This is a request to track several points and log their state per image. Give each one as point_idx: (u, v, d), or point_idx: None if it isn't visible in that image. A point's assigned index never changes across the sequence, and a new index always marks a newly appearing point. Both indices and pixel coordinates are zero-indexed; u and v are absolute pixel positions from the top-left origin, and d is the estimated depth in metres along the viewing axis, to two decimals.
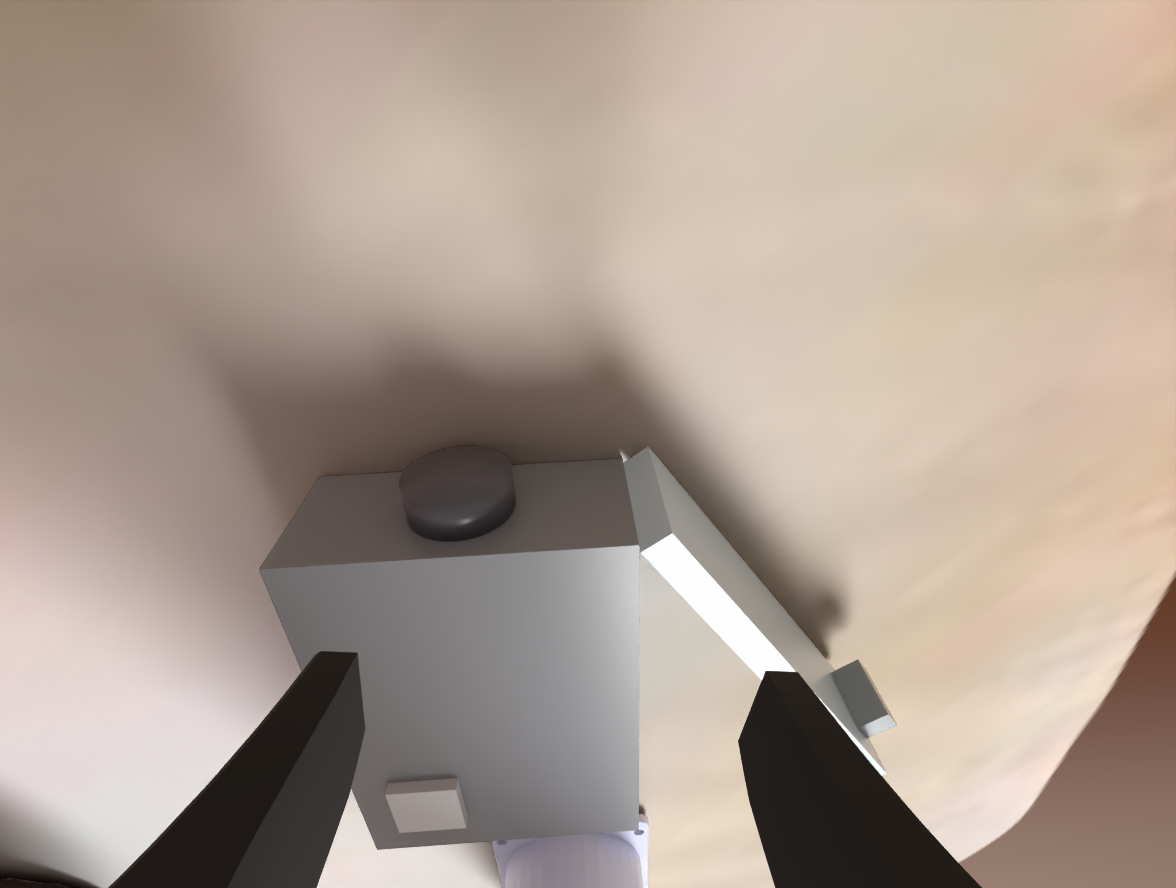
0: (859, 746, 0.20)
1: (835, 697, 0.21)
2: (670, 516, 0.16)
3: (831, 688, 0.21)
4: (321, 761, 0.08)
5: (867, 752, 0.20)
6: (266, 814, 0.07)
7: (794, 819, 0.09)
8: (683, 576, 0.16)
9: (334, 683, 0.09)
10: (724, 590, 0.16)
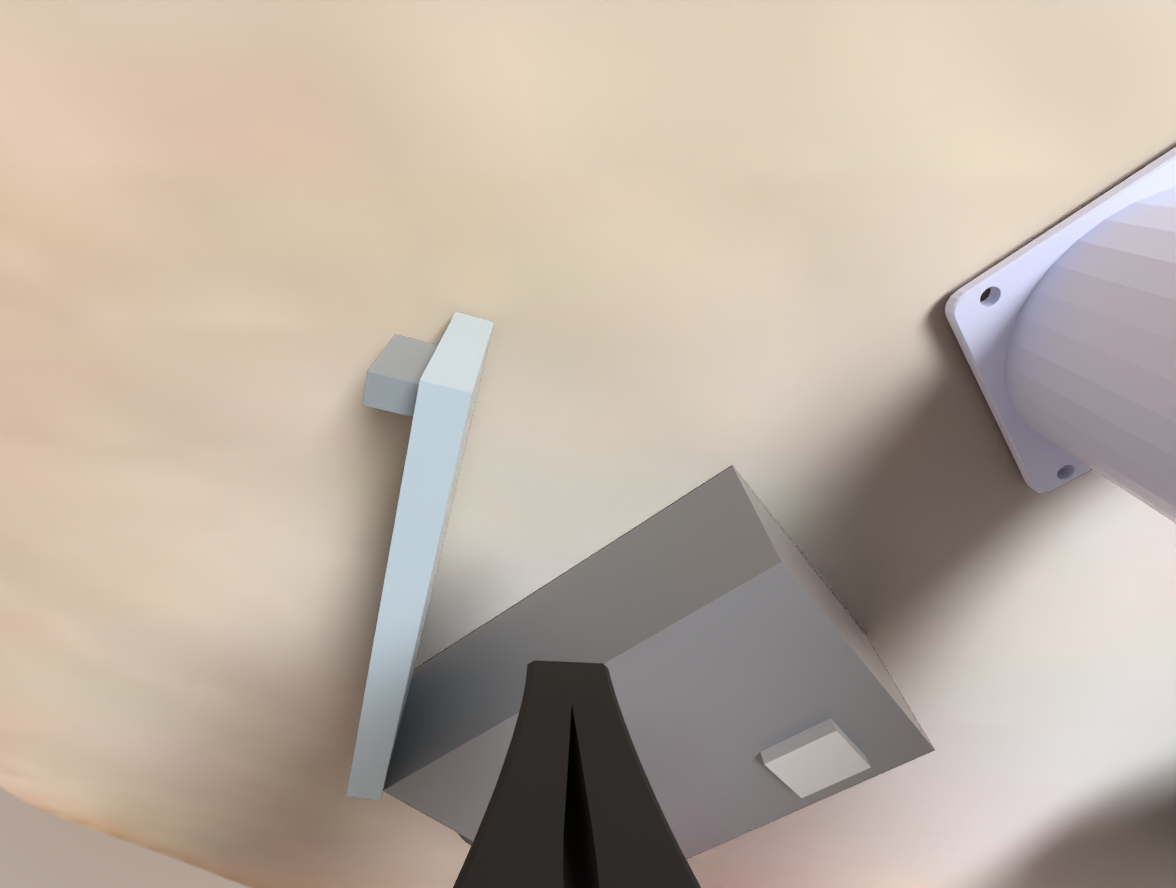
0: (407, 475, 0.12)
1: None
2: None
3: None
4: None
5: (408, 452, 0.12)
6: (560, 819, 0.07)
7: (570, 815, 0.09)
8: (371, 771, 0.17)
9: (563, 692, 0.09)
10: None
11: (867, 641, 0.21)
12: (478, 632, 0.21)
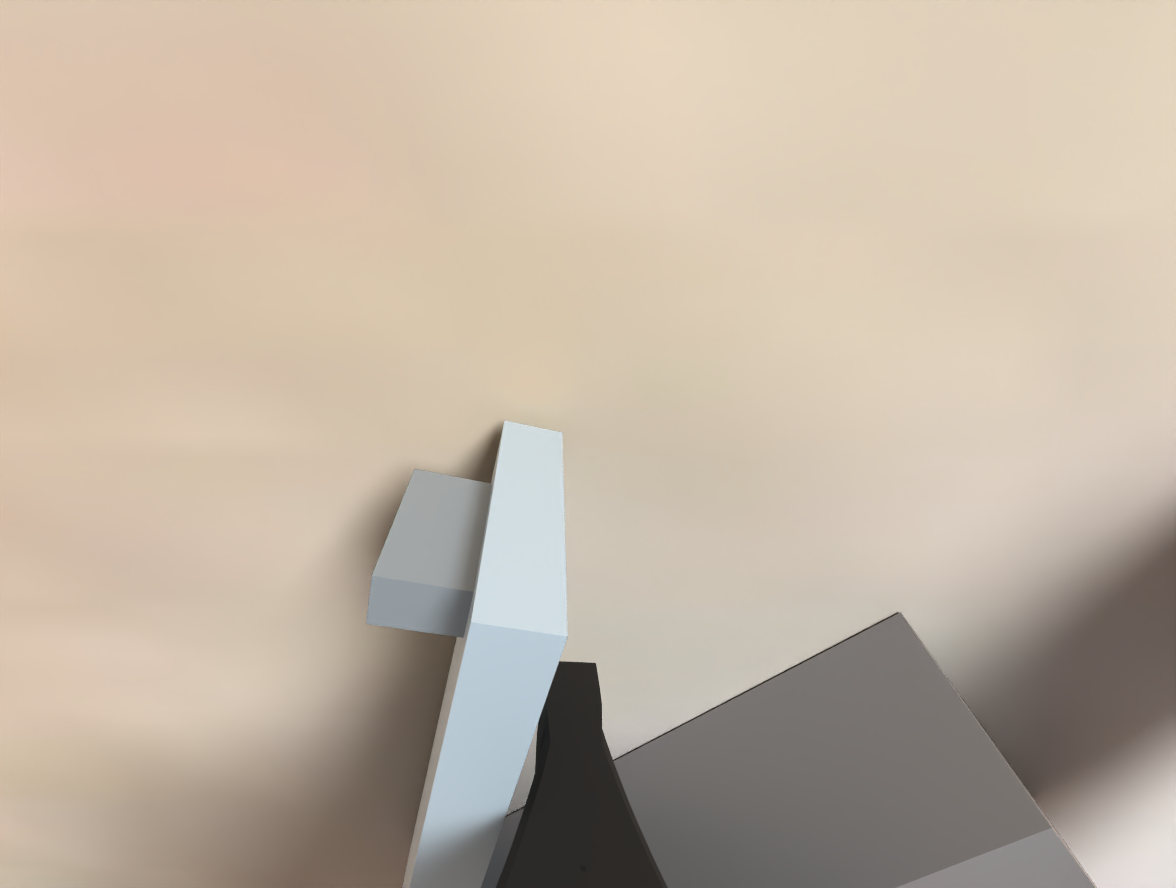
0: (447, 755, 0.07)
1: (453, 676, 0.08)
2: None
3: (458, 649, 0.09)
4: None
5: (449, 723, 0.07)
6: (597, 819, 0.07)
7: None
8: None
9: (593, 693, 0.09)
10: None
11: None
12: None
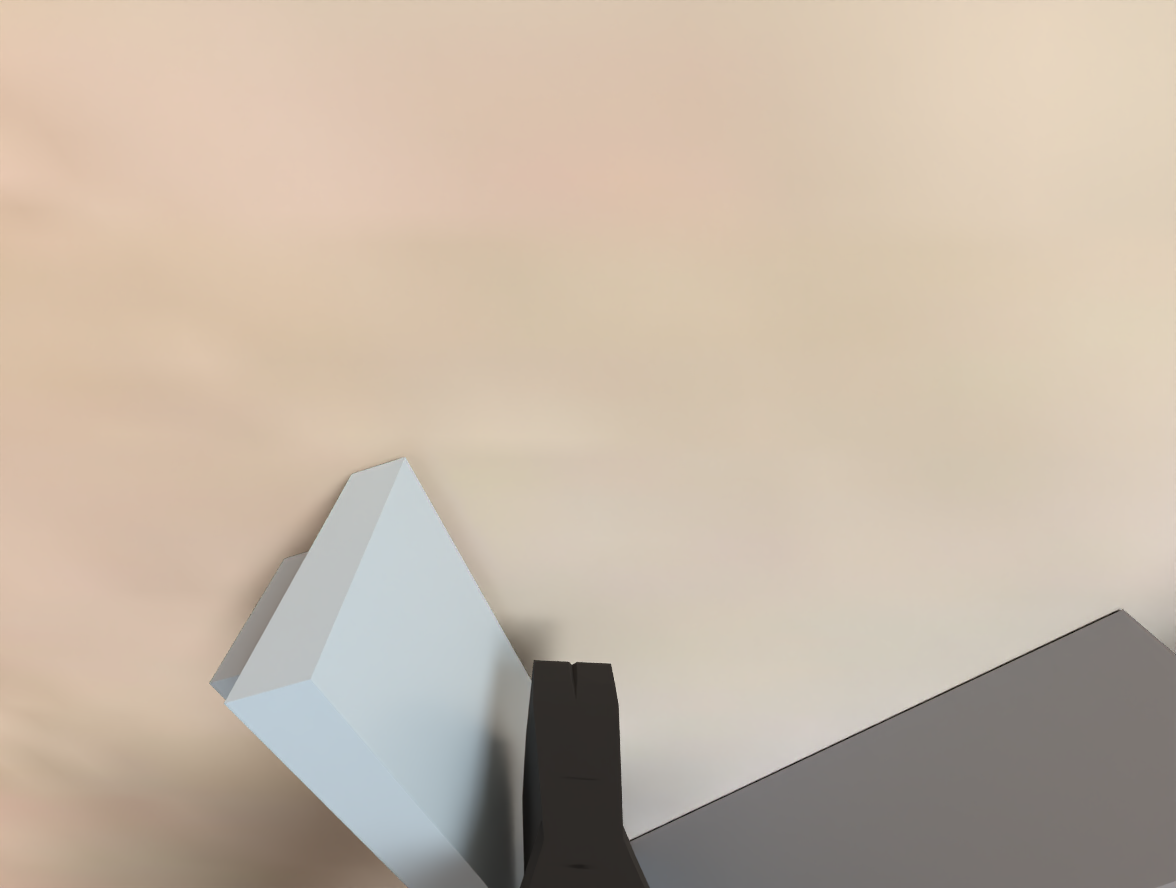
0: (338, 811, 0.07)
1: None
2: None
3: None
4: None
5: (310, 786, 0.07)
6: (618, 820, 0.07)
7: (530, 814, 0.09)
8: None
9: (609, 694, 0.09)
10: None
11: None
12: (725, 804, 0.16)
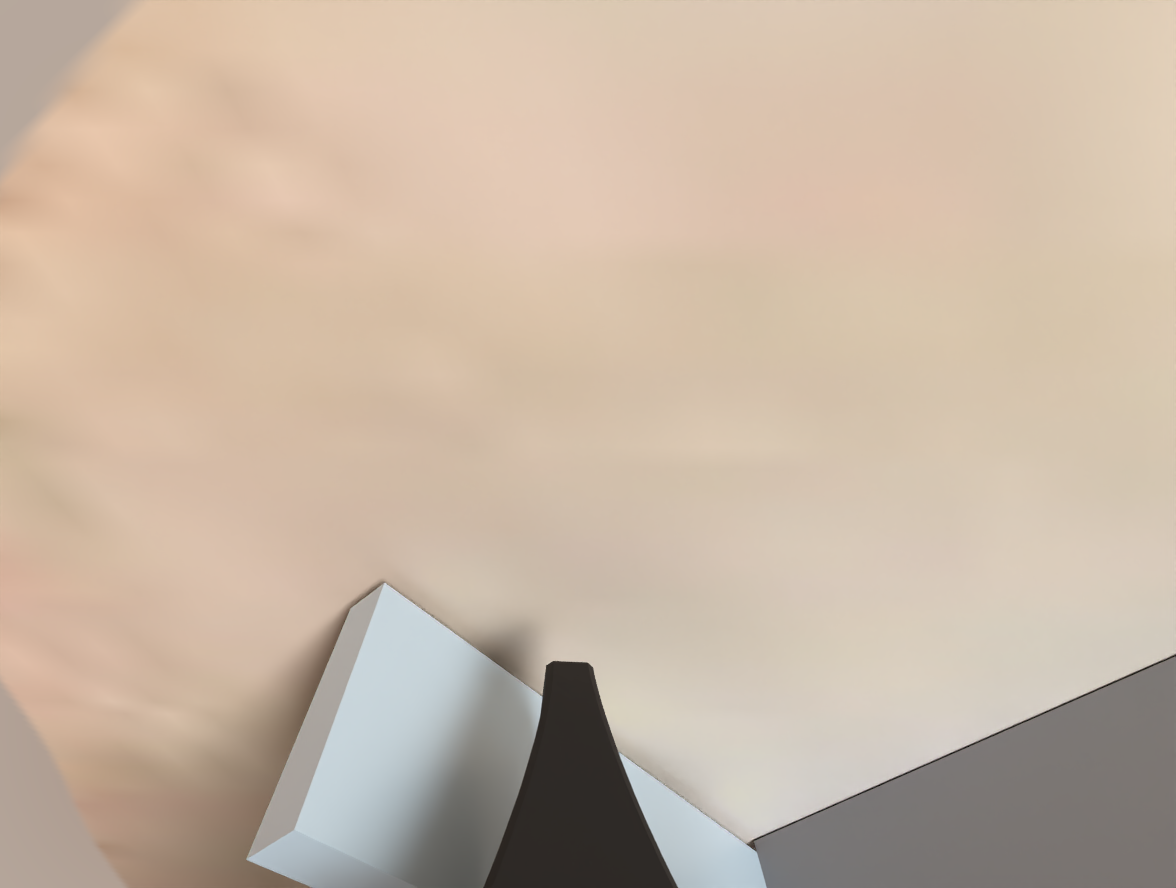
0: None
1: None
2: None
3: None
4: None
5: None
6: (586, 819, 0.07)
7: None
8: None
9: (584, 693, 0.09)
10: None
11: None
12: (857, 804, 0.16)
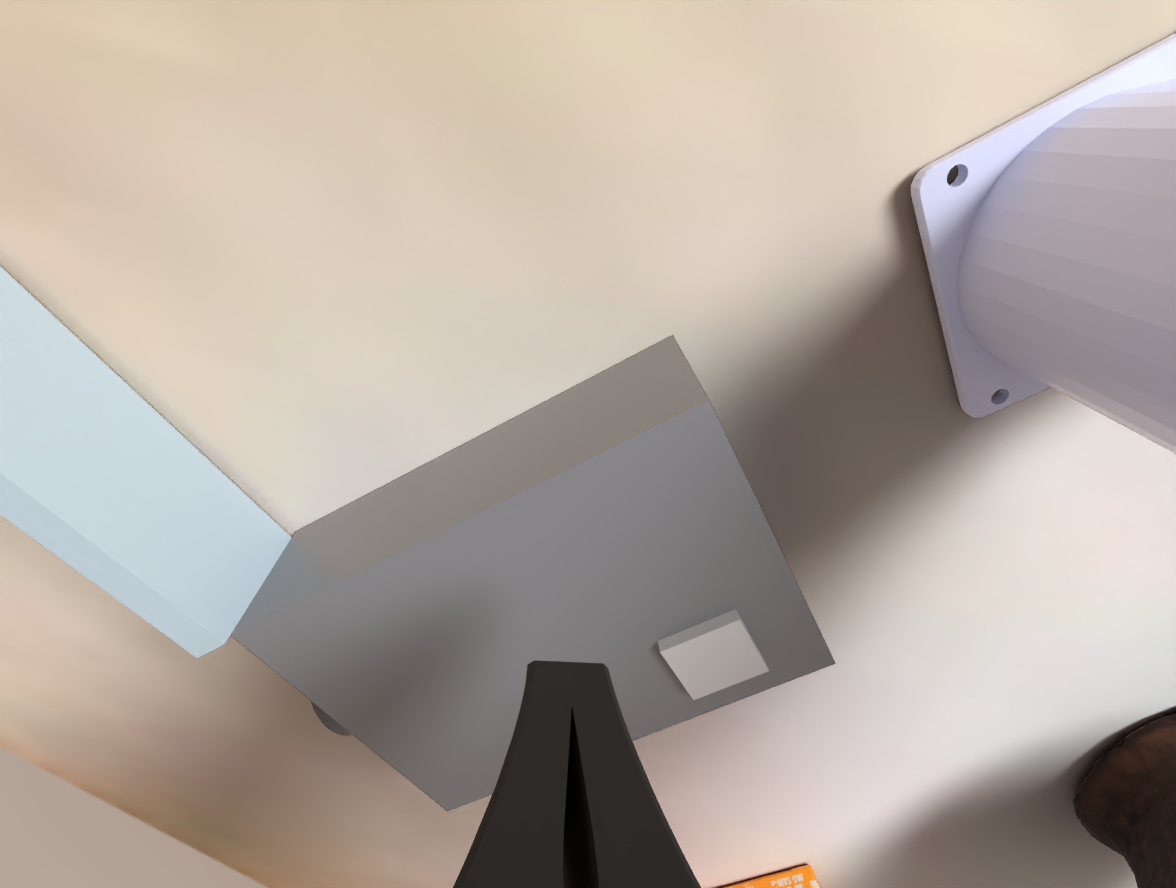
0: None
1: None
2: None
3: None
4: None
5: None
6: (561, 819, 0.07)
7: (569, 815, 0.09)
8: (168, 616, 0.15)
9: (564, 692, 0.09)
10: (113, 593, 0.14)
11: None
12: (372, 493, 0.19)
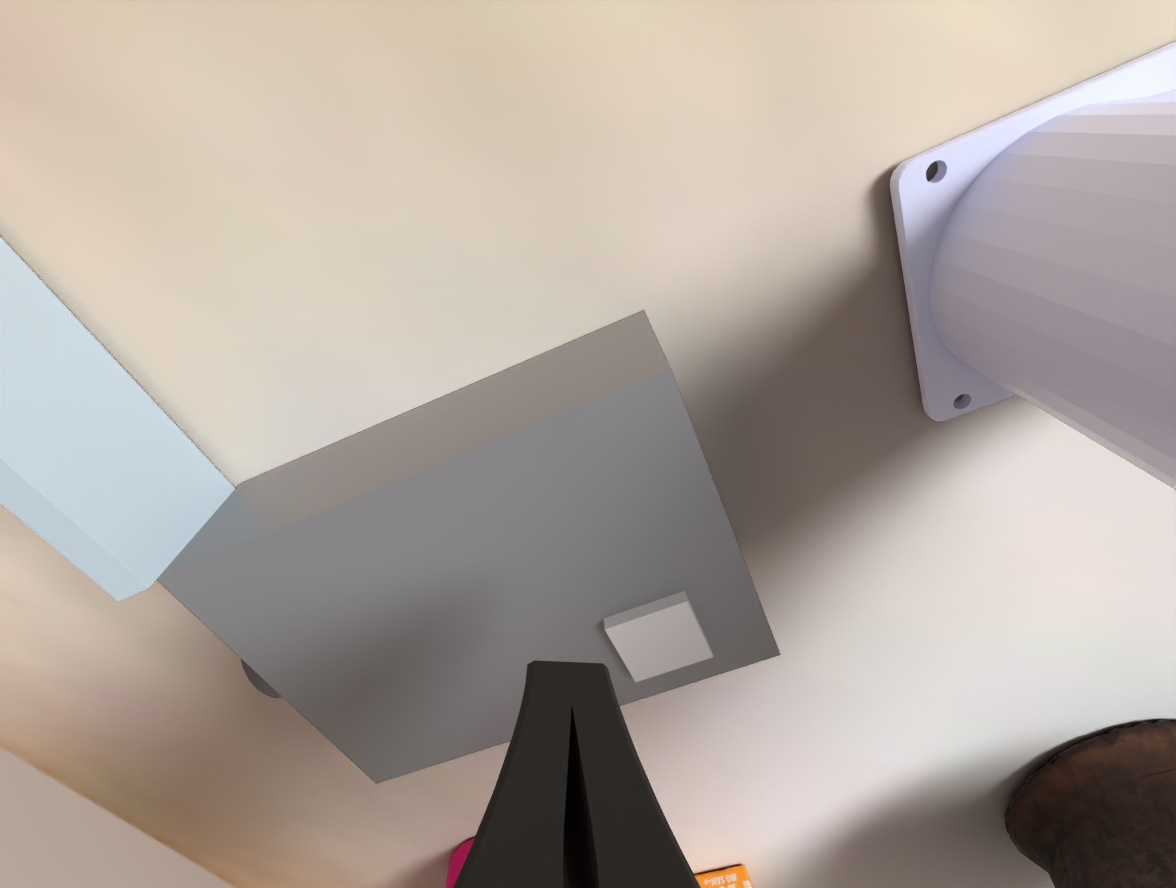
0: None
1: None
2: None
3: None
4: None
5: None
6: (560, 819, 0.07)
7: (570, 815, 0.09)
8: (89, 553, 0.14)
9: (563, 692, 0.09)
10: (30, 524, 0.14)
11: None
12: (324, 449, 0.18)
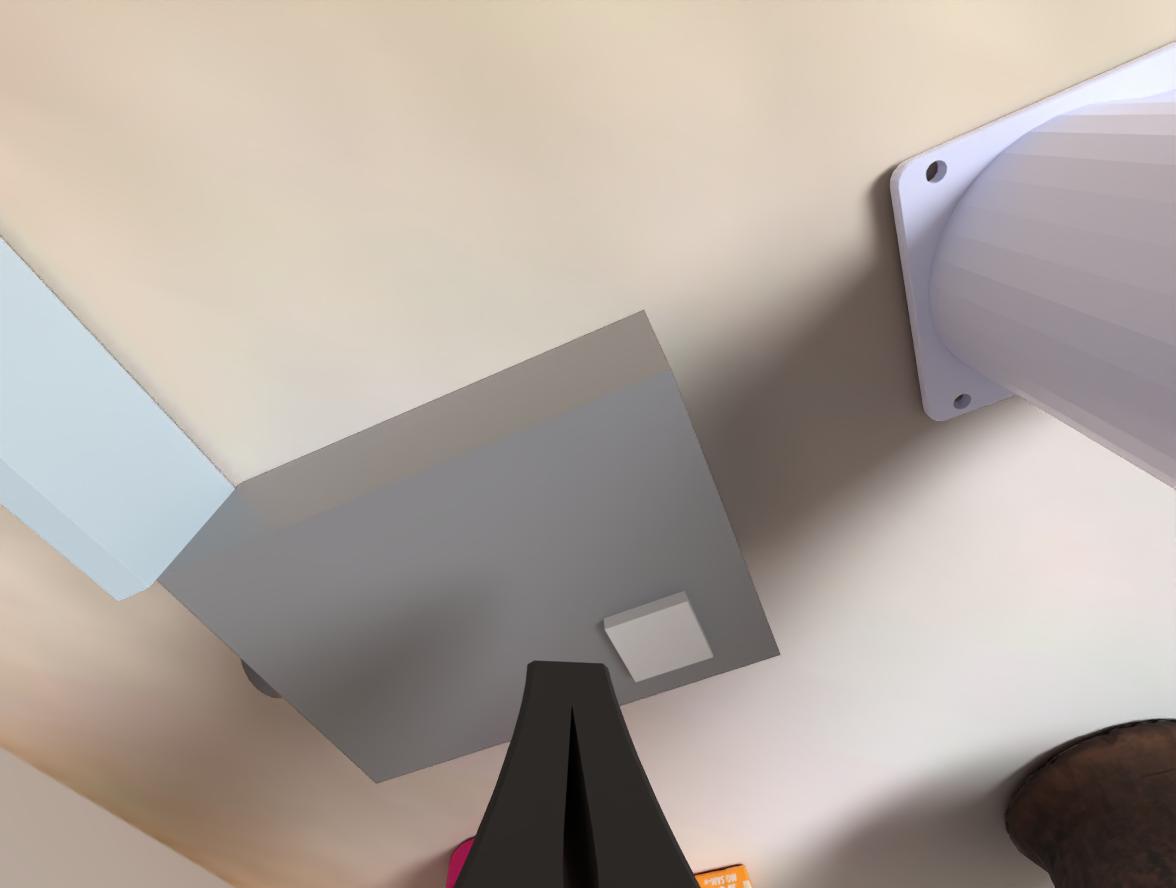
0: None
1: None
2: None
3: None
4: None
5: None
6: (560, 819, 0.07)
7: (570, 815, 0.09)
8: (89, 553, 0.14)
9: (563, 692, 0.09)
10: (30, 524, 0.14)
11: None
12: (324, 449, 0.18)
